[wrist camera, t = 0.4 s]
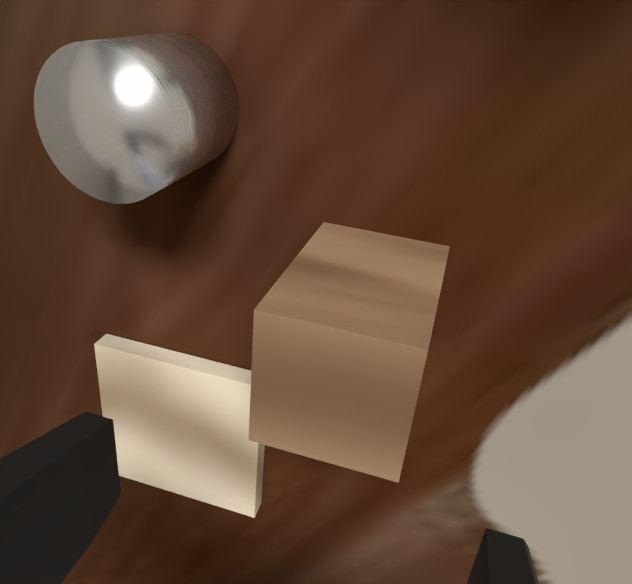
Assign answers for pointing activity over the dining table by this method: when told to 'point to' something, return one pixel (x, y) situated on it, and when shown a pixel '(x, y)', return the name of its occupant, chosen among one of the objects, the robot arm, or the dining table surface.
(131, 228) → the dining table surface
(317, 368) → the walnut block
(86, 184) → the round canister
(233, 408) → the birch pad
